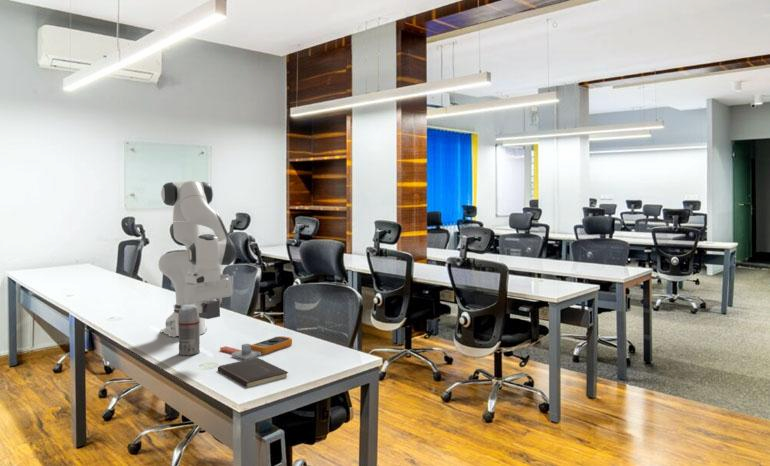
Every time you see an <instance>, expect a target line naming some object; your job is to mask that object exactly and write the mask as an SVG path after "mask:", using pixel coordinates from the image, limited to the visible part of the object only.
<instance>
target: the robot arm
mask: <svg viewBox="0 0 770 466" xmlns="http://www.w3.org/2000/svg"><path fill="white" fill-rule="evenodd" d="M212 187H213V186H212V185H211V184H210V183H209V182H205V181H202V182H199V181H195V180H188V181H178V182H172V181H171V182H166V183H165V184H163V186H162V188H161V190H160V195H161V200H162V201H163V203H164V204H165V205H167V206H171V207H173V212H172V213H173V214H172V227H173V228H172V229H173V230H172V231H173V237H174V239H175V241H177V242H178V243H181V244H183V245H184V246H185V249H186V250H181V251H172V252H167V253H164V254H162V255H161V256H160V258H159V259H158V269H159V271H160V272H161V274H163V275H164V276H166V277H167V278H168V279H169V280H170V281H171V283H172V285H173V287H174V290H175V291H174V292H175V304H173V308H174V309H173V313H171V315H169V316H168V317H167V318H166V319H165V327H164V328H161V329H160V331H162V332H164V333H166V334H168V335H170V336H173V337H172V338H176V337H175V336H179V310H180V308H181V306H182V305H189V304H196V306H197V307H198V308H199V313H204V308H202V306H201V304H202V301H208V300H215V301H220V305H221V304H222V302H223V298H229V297H231V296H233V294H234V291H233V284H232V277H231V275H230V274H228V273H223V274H221V266H230V265H231V264H232V263H233V262H235V260H236V259H237V249H236V245H235V244H234V242H233V241H232V239H231V237H230V235H229V234H228V231H227V229H226V226H225V224H224V222H223V220H222V218H221V216H220V214H219V213H218V212H217V211H215V210H214V209H212V207H211V206H210V205H209V204H210V203H211V202H213V201H212V200H213V197H214V191H213V188H212ZM199 226H202V227H206V228H209V229H210V230H212V231H213V233H214V234H215V235H214V234H210V233H209V234H208V233H207V234H201V235H200V228H199ZM199 318H200V317H199ZM205 320H206V319H205V318H200V322H199V329H200V332H199V333H200V335H203V334H205V333H206V332H207V330H208V327H207V326H206V321H205ZM162 332H161V333H162ZM164 333H163V334H164ZM166 334H165V335H166ZM168 335H167V336H168ZM170 336H169V337H170Z"/></svg>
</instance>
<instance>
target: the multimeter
mask: <svg viewBox="0 0 770 466" xmlns="http://www.w3.org/2000/svg"><path fill="white" fill-rule="evenodd" d="M292 343H293V338H292V337H290V336H285V335H280V336H275V337H271V338H268V339H266V340H263V341H260V342H256V343H253V344H251V350H255V351H259V352H261V355H268V354H270V353H273V352H275V351H278V350H281V349H284V348H287V346H288V347H290V346H292Z"/></svg>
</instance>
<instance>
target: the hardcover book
mask: <svg viewBox="0 0 770 466" xmlns="http://www.w3.org/2000/svg"><path fill="white" fill-rule="evenodd" d="M217 372H219V373H220V374H222V375H224V376H226V377H228V378H229V379H231V380H233V381H235V382H236V383H238V384H240V385H241V386H243V387H245V388H249V387H252V386H257V385H260V384H265V383H268V382H273V381H277V380H281V379H285V378H287V377H288V373H289V371H286V370H285V369H282V368H280V367H278V366H277V365H274V364H271V363H269V362H268V361H265V360H263V359H261V358H259V357H254V358H251V359H247V360H241V361H235V362H231V363H227V364H222V365H219V366H218V367H217ZM284 377H285V378H284Z"/></svg>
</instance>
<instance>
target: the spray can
mask: <svg viewBox="0 0 770 466" xmlns="http://www.w3.org/2000/svg"><path fill="white" fill-rule="evenodd" d="M199 322H200V318H199V308H198V307H197V306H196V304H189V305H182V306H181V308H180V310H179V337H178V354H179V355H180V356H185V355H187V357H188V356H194V355H197V354H199V353H201V352H200V351H201V350H200V343H201V342H200V335H201V334H200V333H199V332H200V329H199Z"/></svg>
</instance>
